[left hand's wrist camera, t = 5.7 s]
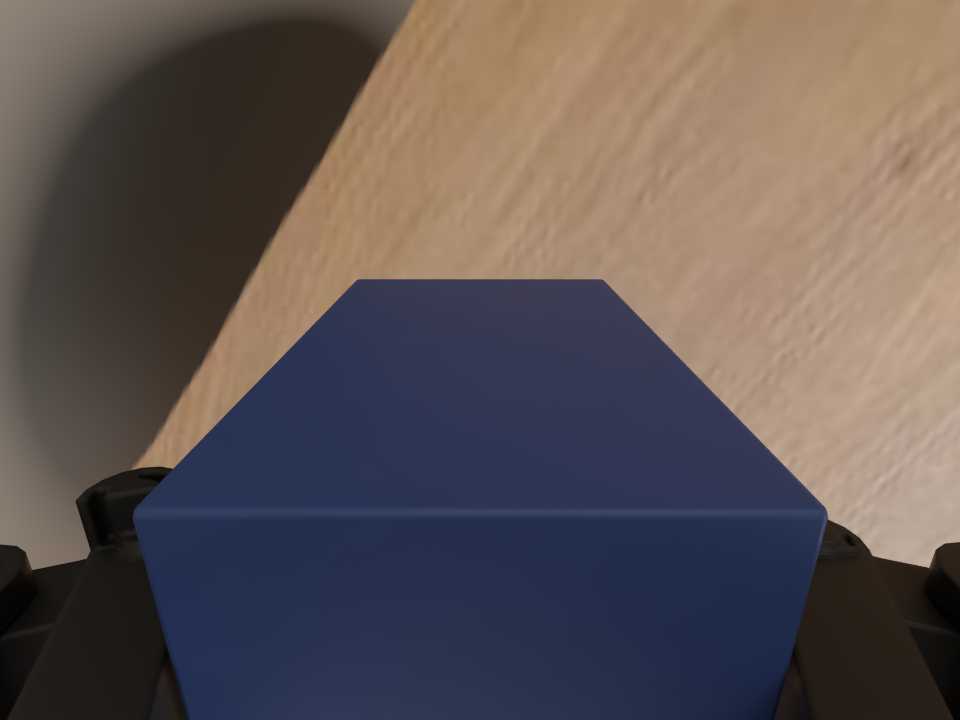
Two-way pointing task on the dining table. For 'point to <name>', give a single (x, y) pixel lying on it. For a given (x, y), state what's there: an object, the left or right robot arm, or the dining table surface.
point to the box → (480, 523)
